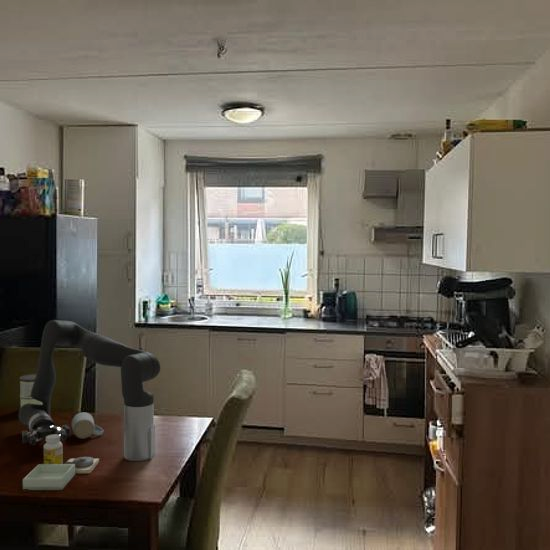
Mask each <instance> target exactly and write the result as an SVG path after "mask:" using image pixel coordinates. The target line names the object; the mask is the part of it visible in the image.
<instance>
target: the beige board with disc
mask: <svg viewBox="0 0 550 550" xmlns="http://www.w3.org/2000/svg"><path fill="white" fill-rule="evenodd" d="M99 463H100V458H93V457H92V456H80V457H76V458H69V459H68V460H67V461H66V462H65V463H64V464H75V474H91V473H92V472H93V470H94V469H95V468H96V466H97V465H98V464H99Z"/></svg>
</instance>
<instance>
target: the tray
mask: <svg viewBox="0 0 550 550" xmlns="http://www.w3.org/2000/svg"><path fill="white" fill-rule="evenodd" d="M75 475H76V473H75V464H65V463H63V464H44V463H41V464H40V463H39V464H37V465H36V466H35V467H34V468H33V469H32V470H31V471H30V472H29V473H28V474H27V475H26V476H25V477H23V478H22V490H23V489H28V490H27V491H63V489H64V488H66V486H67V485H68V483H69V482H70V481H71V480H72V479H73V477H74V476H75Z"/></svg>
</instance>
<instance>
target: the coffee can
mask: <svg viewBox="0 0 550 550" xmlns="http://www.w3.org/2000/svg"><path fill="white" fill-rule="evenodd" d="M36 374H37V373H29V374H25V375H22V376H20V377H19V398H20V399H19V400H20V401H19V403H20V404H19V406H20V407H19V409H20V408H21V407H22V406H23V405H24V404H28V403H30V404H39V405H42V404H43V403H42V402H40V401H38V400H35V399H33V398H32V397H31V390H32V387H33V384H34V381H35V378H36Z"/></svg>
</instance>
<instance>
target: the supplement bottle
mask: <svg viewBox="0 0 550 550" xmlns="http://www.w3.org/2000/svg"><path fill="white" fill-rule="evenodd" d="M60 435H61V434H60ZM60 435H57V434H54V435H48V436H46V440H45V442H46V443H44V445H43V464H64V459H63V458H64V457H63V456H64V455H63V453H64V452H63V451H64V450H63V449H64V448H63V443H62V442H61V438H60Z"/></svg>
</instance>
